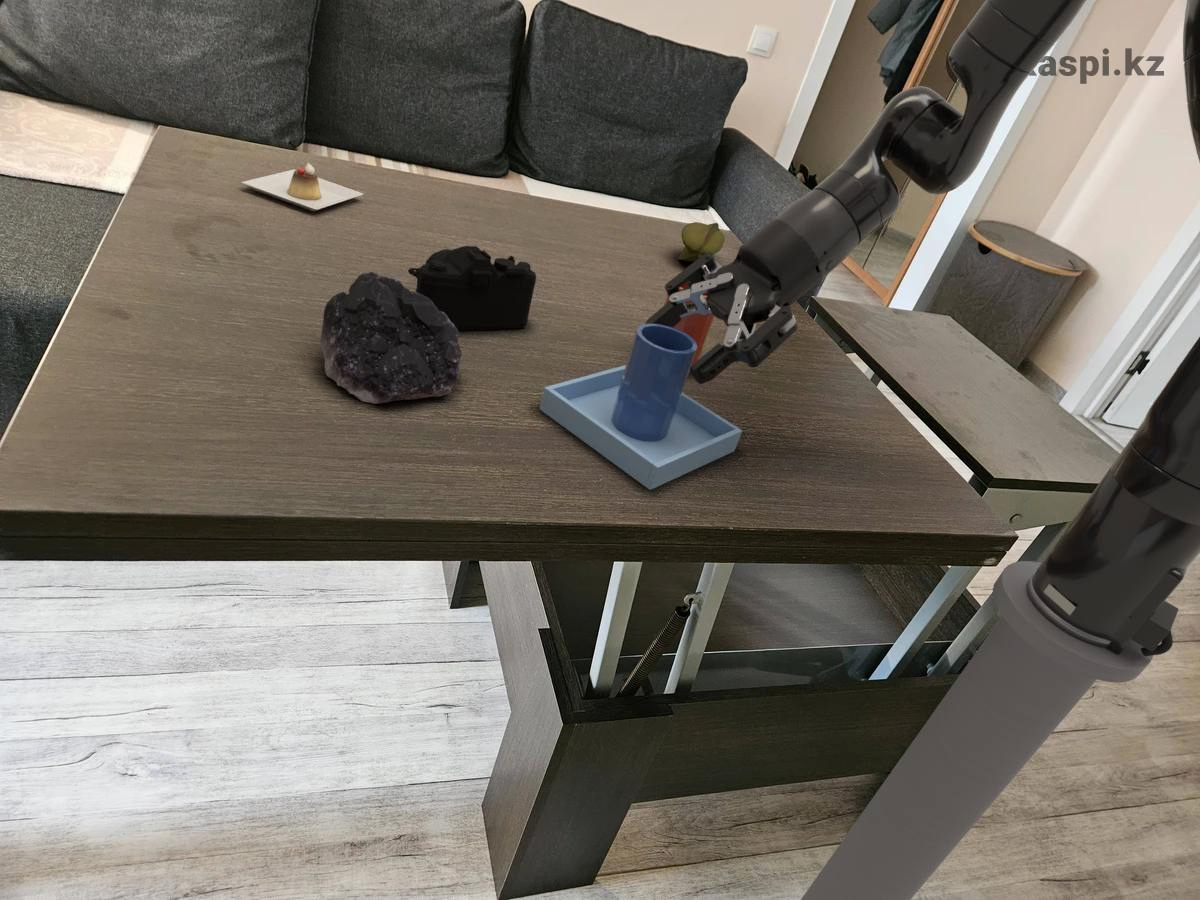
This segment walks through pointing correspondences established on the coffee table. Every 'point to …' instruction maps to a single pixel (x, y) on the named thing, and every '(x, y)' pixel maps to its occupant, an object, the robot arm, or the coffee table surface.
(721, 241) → the fruit
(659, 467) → the tray
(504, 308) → the film camera
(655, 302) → the coffee table surface
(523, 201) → the coffee table surface
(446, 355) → the crystal cluster
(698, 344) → the red cup
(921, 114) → the robot arm
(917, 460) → the coffee table surface
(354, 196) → the dessert
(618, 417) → the blue cup
